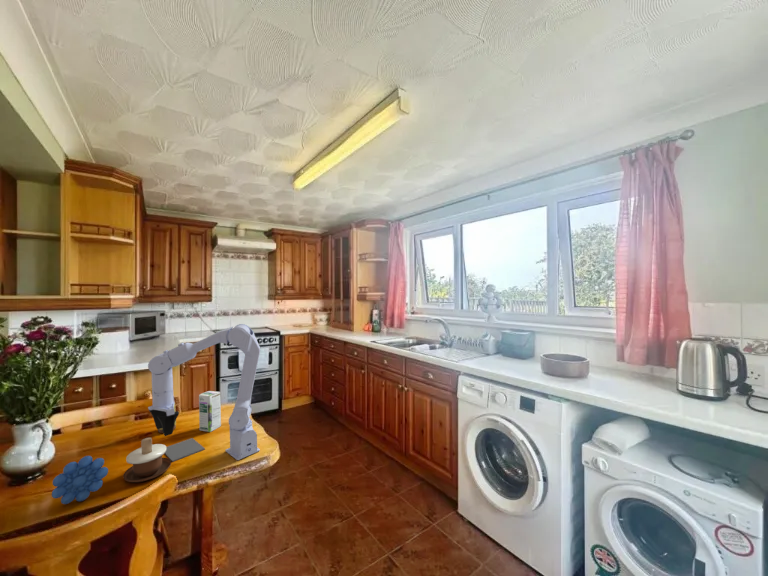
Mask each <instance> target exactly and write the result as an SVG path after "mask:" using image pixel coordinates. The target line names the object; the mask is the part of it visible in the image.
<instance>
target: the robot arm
mask: <svg viewBox="0 0 768 576" xmlns="http://www.w3.org/2000/svg"><path fill="white" fill-rule="evenodd" d="M254 332H255V331H254V330H253V329H252V328H251V327H250V326H249V325H247V324H245V323H239V324H237V325H235V326H230V327H227V328H224V329H221V330H219V331H217V332H215V333H213V334H210V335H209V336H207V337H205V338H202V339H200V340H198V341H196V342H194V343H191V342H180V343H178V346H176V347H172V348H171V349H169V350H168V349H165V350H164V351H163V352H162V353H160V354H158V355H156V356H154V357H152V358H151V359H150V361H148V365H147V368H148V370H149V371H150V372H151V391H152V392H151V393H152V395H151V397H152V405H151V406H148V407H147V409H148V412H149V414H151V416H152V418H153V421H154V424H155V428H156V429H157V430H158V429H160V428H162V430H163V433H162V434H163V436H164V437H167V436H170V435H172V434H173V432H174V430H173V428H174V424H175V421H176V422H177V418H178V417H179V415H180V412H179V410H177V411H176V410H175V412H174V400H175V395H174V376H173V367H177V366H179V365H182V364H184V363H186V362H189V361H190V360H193V359H194V358H196V356H197V353H199V352H200V351H202V350H203V351H204V350H206V349H208V348H210V347H212V346H215V345H217V344H226V345H227V344H229V343H230V345H232V346H234V347H236V348H238V349H239V350H241V352H242V353H243V354H244V360H243V364H242V369H241V375H240V380H239V385H238V390H237V396H236V401H235V403H234V407H233V410H232V413H231V414H230V416H229V418H228V425H229V448H226V449H225V452H226V453H227V454H229V455H230V456H231V457H232V458H234V459H235V461H240V460H241V459H244V458H246V457H249V456H251V455H253V454H255V453H256V454H257V453H258V452H259V451H261V450H260V448H259V447H258V434H257V432H256V431H255V429H254V428H253V421H252V419H251V418H250V416H251V414H252V411H253V408H252V406H251V405H252V404H251V403H252V395H253V391H254V390H253V389H254V383H255V379H256V373H257V368H258V363H259V358H260V352H261V347H260V344H259V342H258V340H257V338H256V334H255V333H254Z"/></svg>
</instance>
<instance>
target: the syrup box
mask: <svg viewBox="0 0 768 576" xmlns="http://www.w3.org/2000/svg"><path fill="white" fill-rule="evenodd" d="M221 403H222V402H221V391H213V390H208V391H205V392H202V393H200V394H199V395H198V408H199V409H198V410H199V411H198V412H199V419H198V420H199V423H198V424H199V427H198V428H199V431H203V432H208V433H212V432H213V431H216V430H217V429H218V428H220V427H221V426H222V416H221V415H222V412H221Z"/></svg>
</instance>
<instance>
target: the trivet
mask: <svg viewBox="0 0 768 576" xmlns="http://www.w3.org/2000/svg"><path fill="white" fill-rule="evenodd" d="M204 450H206V448H205V447H204V446H203V445H202V444H201V443H199V442H198V441H197V440H195V439H194V438H193V437H192V438H187V439H186V440H182V441H180V442H177V443H174V444H171V445H168V446H166V452H165V453H164V455H165V456H167V457H166V458H168V459H170V460H171V463H174V462H176V461H179V460H182V459H184V458H186V457H189V456H192V455H195V454H197V453H200V452H202V451H204Z"/></svg>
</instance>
